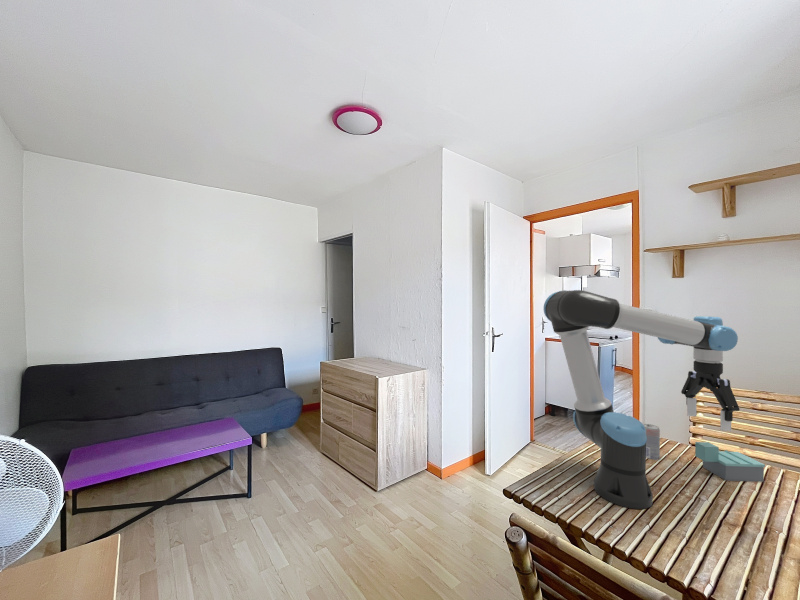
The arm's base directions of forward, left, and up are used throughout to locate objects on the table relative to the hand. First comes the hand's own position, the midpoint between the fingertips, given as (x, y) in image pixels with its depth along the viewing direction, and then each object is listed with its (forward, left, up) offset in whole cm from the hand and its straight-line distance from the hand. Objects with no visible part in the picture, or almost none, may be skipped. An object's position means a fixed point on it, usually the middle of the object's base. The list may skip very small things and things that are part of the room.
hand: (707, 422), depth 117 cm
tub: (+8, 0, -18) cm, 20 cm away
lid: (+6, 0, -13) cm, 14 cm away
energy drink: (-11, +12, -18) cm, 24 cm away
